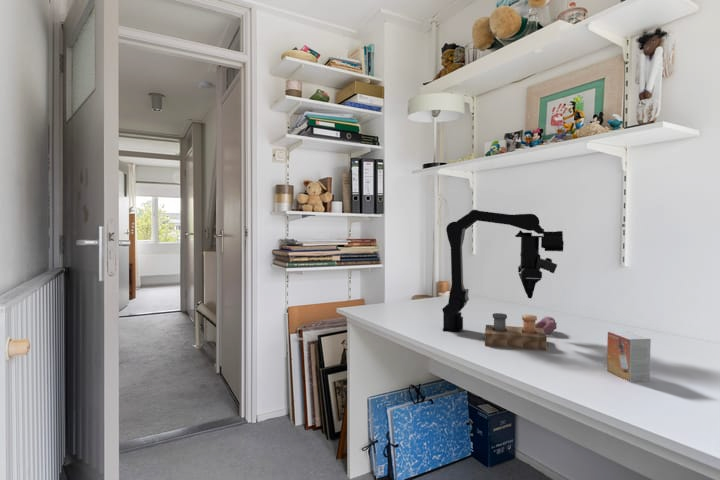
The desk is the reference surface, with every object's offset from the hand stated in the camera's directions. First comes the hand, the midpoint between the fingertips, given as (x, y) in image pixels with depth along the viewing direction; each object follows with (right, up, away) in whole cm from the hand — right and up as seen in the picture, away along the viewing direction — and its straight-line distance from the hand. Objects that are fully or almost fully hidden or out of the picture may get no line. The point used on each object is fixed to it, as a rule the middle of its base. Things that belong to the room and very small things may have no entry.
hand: (528, 296), depth 141 cm
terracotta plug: (-4, -11, -9) cm, 15 cm away
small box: (+10, -15, -37) cm, 42 cm away
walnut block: (-8, -14, -7) cm, 18 cm away
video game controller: (+8, -14, +5) cm, 17 cm away
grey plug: (-12, -11, -6) cm, 18 cm away
